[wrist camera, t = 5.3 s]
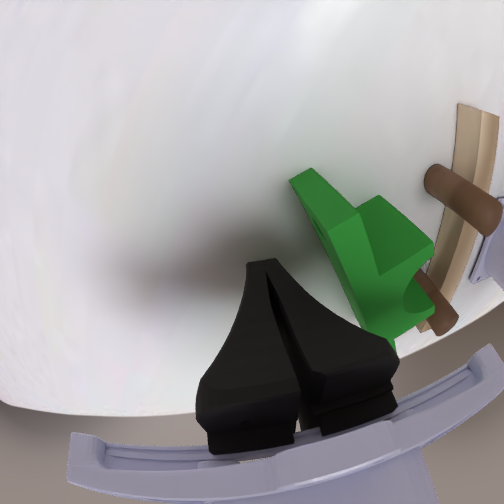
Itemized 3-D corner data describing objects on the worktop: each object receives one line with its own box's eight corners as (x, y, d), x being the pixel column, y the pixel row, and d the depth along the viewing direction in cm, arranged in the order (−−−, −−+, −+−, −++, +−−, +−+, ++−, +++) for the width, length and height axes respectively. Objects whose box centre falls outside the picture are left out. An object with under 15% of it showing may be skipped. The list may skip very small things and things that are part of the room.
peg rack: (476, 108, 9) (536, 132, 6) (427, 310, 19) (454, 350, 15) (430, 97, 9) (501, 118, 5) (387, 324, 18) (412, 370, 15)
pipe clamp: (400, 288, 17) (433, 337, 13) (354, 315, 17) (381, 369, 14) (359, 139, 10) (426, 176, 7) (287, 178, 11) (327, 234, 7)
